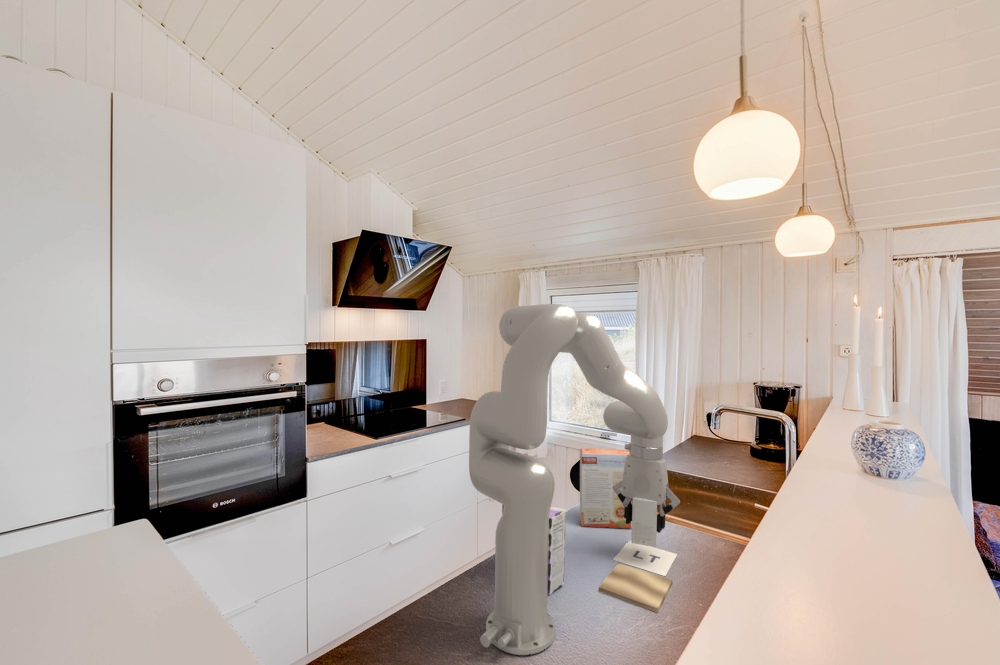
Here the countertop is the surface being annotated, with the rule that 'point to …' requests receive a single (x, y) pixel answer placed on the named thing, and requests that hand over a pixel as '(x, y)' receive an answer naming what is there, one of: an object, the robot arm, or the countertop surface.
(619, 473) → the cracker box
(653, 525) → the small box
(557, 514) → the candy box
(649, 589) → the coaster
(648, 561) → the card
